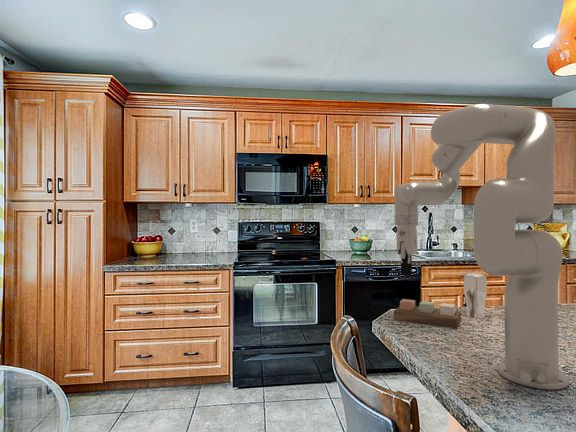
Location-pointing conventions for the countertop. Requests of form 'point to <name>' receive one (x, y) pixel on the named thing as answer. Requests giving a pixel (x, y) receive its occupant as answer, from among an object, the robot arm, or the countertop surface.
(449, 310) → the key cream
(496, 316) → the countertop surface
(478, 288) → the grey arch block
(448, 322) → the console
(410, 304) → the key terracotta
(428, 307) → the key sage
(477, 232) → the robot arm
